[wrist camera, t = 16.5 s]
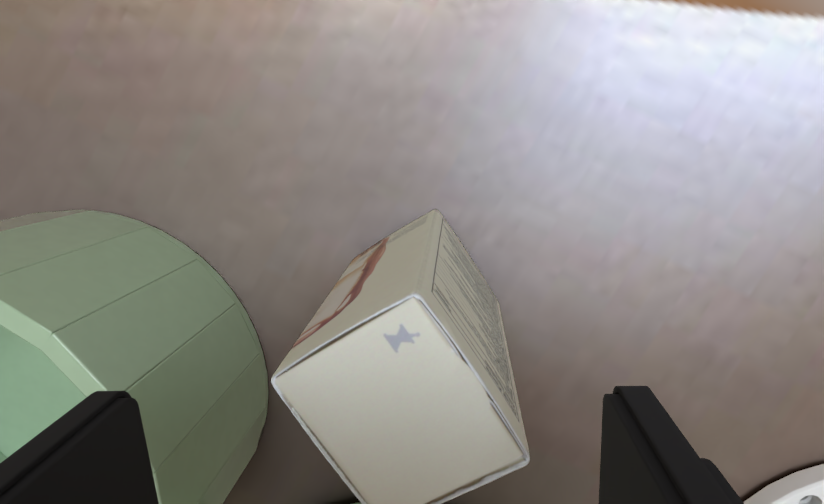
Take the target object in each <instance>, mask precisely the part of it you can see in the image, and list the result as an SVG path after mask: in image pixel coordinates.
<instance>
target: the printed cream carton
mask: <svg viewBox="0 0 824 504" xmlns="http://www.w3.org/2000/svg"><path fill="white" fill-rule="evenodd" d="M271 383H272V385H273V387H274V389H275V390H276V392H277V393H278V394H279V396H280V397H281V399H282V400H283V402H284V403H285V404H286V405H287V406H288V408H289V409H290V411H291V412H292V414H293V415H294V417H295V418H296V419H297V421H298V422H299V423H300V425H301V426H302V428H303V429H304V430H305V432H306V433H307V434H308V436H309V437H310V438H311V440H312V441H313V443H314V444H315V445H316V446H317V448H318V449H319V450H320V452H321V453H322V454H323V455H324V457H325V458H326V460H327V461H328V462H329V463H330V464H331V466H332V467H333V468H334V470H335V471H336V472H337V473H338V475H339V476H340V478H341V479H342V480H343V481H344V483H345V484H346V485H347V486H348V487H349V489H350V490H351V491H352V492H353V494H354V495H355V496H356V498H358V499H359V501H360V502H361V503H362V504H442V503H444V502H446V501H449V500H451V499H454V498H456V497H458V496H460V495H462V494H465V493H467V492H469V491H471V490H474V489H477V488H479V487H480V486H482V485H485V484H487V483H489V482H492V481H494V480H496V479H498V478H500V477H502V476H504V475H506V474H509V473H511V472H513V471H515V470H517V469H520V468H522V467H524V466H526V465H527V464H528V463H529V462H530V453H529V449H528V444H527V439H526V435H525V430H524V425H523V421H522V416H521V411H520V406H519V401H518V396H517V391H516V386H515V381H514V376H513V371H512V367H511V362H510V357H509V352H508V347H507V342H506V336H505V332H504V327H503V322H502V316H501V311H500V306H499V303H498V301H497V299H496V297H495V296H494V294H493V293H492V291H491V289H490V288H489V286H488V284H487V283H486V281H485V279H484V278H483V276H482V275H481V273H480V271H479V270H478V268H477V267H476V265H475V264H474V262H473V261H472V259H471V258H470V256H469V254H468V253H467V251H466V250H465V248H464V247H463V245H462V244H461V242H460V241H459V239H458V238H457V236H456V235H455V233H454V232H453V230H452V229H451V227H450V226H449V225H448V223H447V222H446V220H445V219H444V217H443V216H442V215H441V213H440V212H439V211H438V210H437V209H434V210H432V211H430V212H429V213H427V214H425V215H423V216H422V217H420V218H418V219H416V220H414V221H413V222H411V223H409V224H408V225H406V226H404V227H402V228H401V229H399V230H397V231H396V232H394V233H392V234H391V235H389V236H388V237H386V238H384V239H383V240H381V241H379V242H378V243H376V244H375V245H373V246H372V247H370V248H369V249H367V250H366V251H364V252H363V253H361V254H360V255H358V256H357V257H355V258H354V259H353V260H352V262H351V263H350V264H349V266H348V267H347V269H346V270H345V272H344V273H343V275H342V276H341V277H340V279H339V280H338V282H337V283H336V285H335V286H334V288H333V289H332V291H331V292H330V293H329V295H328V296H327V298H326V299H325V301H324V302H323V303H322V305H321V306H320V308H319V309H318V311H317V312H316V313H315V315H314V316H313V318H312V319H311V321H310V322H309V324H308V325H307V326H306V328H305V329H304V331H303V332H302V334H301V335H300V337H299V338H298V340H297V341H296V343H295V344H294V345H293V347H292V348H291V350H290V351H289V353H288V354H287V355H286V357H285V358H284V360H283V361H282V363H281V364H280V366H279V367H278V369H277V370H276V372H275V373H274V374H273V376H272V378H271Z"/></svg>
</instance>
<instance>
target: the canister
mask: <svg viewBox="0 0 824 504" xmlns="http://www.w3.org/2000/svg"><path fill="white" fill-rule="evenodd" d="M96 391H126V392H128V393H129V394H130V396H131V398H134V399H136V401H137V402H138V405H139V409H140V414H141V419H142V424H143V429H144V434H145V439H146V444H147V448H148V453H149V458H150V463H151V468H152V473H153V478H154V483H155V488H156V493H157V498H158V502H159V504H223V503H224V501H225V499H226V498H227V496H228V495H229V493H230V491H231V490H232V488H233V487H234V485H235V484H236V482H237V480H238V479H239V477H240V476H241V474H242V472H243V471H244V469H245V468H246V466H247V464H248V463H249V461H250V460H251V458H252V457H253V455H254V453H255V451H256V449H257V445H258V442H259V440H260V437H261V435H262V432H263V428H264V424H265V420H266V415H267V406H268V377H267V370H266V365H265V360H264V354H263V351H262V348H261V345H260V342H259V339H258V336H257V333H256V331H255V329H254V326H253V324H252V322H251V320H250V318H249V316H248V314H247V312H246V310H245V309H244V307H243V306H242V304H241V303H240V301H239V299H238V298H237V296H236V295H235V293H234V292H233V291H232V289H231V288H230V287H229V286H228V284H227V283H226V282H225V281H224V280H223V278H222V277H221V276H220V275H219V274H218V273H217V272H216V271H215V270H214V269H213V268H212V267H211V266H210V265H209V264H208V263H207V262H206V261H205V260H204V259H203V258H202V257H200V256H199V255H198V254H197V253H195V252H194V251H193V250H191V249H190V248H189V247H187V246H186V245H185V244H183V243H182V242H180V241H179V240H177V239H175V238H174V237H172V236H170V235H168V234H167V233H165V232H163V231H162V230H159V229H157V228H155V227H153V226H150V225H148V224H146V223H144V222H141V221H139V220H135V219H132V218H129V217H125V216H122V215H119V214H114V213H108V212H102V211H96V210H64V211H55V212H38V213H33V214H29V215H24V216H19V217H14V218H10V219H5V220H0V463H1V462H2V461H4V460H5V459H6V458H8V457H9V456H10V455H12V454H13V453H14V452H16V451H17V450H18V449H20V448H21V447H22V446H23V445H25V444H26V443H27V442H29V441H30V440H31V439H33V438H34V437H35V436H37V435H38V434H39V433H41V432H42V431H43V430H44V429H46V428H47V427H48V426H50V425H51V424H52V423H54V422H55V421H56V420H58V419H59V418H60V417H62V416H63V415H64V414H65V413H67V412H68V411H69V410H71V409H72V408H73V407H75V406H76V405H77V404H79V403H80V402H81V401H82V400H84V399H85V398H86V397H88V396H89V395H90V394H92V393H94V392H96Z"/></svg>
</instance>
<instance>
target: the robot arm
mask: <svg viewBox="0 0 824 504" xmlns="http://www.w3.org/2000/svg"><path fill="white" fill-rule="evenodd" d="M0 504H159V502H158V498H157V493H156V488H155V483H154V478H153V473H152V468H151V463H150V458H149V453H148V448H147V444H146V439H145V434H144V429H143V424H142V419H141V414H140V409H139V405H138V402H137V401H136V399H134V398H131V396H130V394H129V393H128V392H126V391H96V392H94V393H92V394H90V395H89V396H88V397H86V398H85V399H84V400H82V401H81V402H80V403H79V404H77V405H76V406H75V407H73V408H72V409H71V410H69V411H68V412H67V413H65V414H64V415H63V416H62V417H60V418H59V419H58V420H56V421H55V422H54V423H52V424H51V425H50V426H48V427H47V428H46V429H44V430H43V431H42V432H41V433H39V434H38V435H37V436H35V437H34V438H33V439H31V440H30V441H29V442H27V443H26V444H25V445H23V446H22V447H21V448H20V449H18V450H17V451H16V452H14V453H13V454H12V455H10V456H9V457H8V458H6V459H5V460H4V461H2V462H1V463H0ZM599 504H824V464H821V465H817V466H814V467H811V468H807V469H804V470H801V471H797V472H794V473H792V474H790V475H788V476H786V477H784V478H782V479H780V480H778V481H775V482H773V483H771V484H769V485H767V486H766V487H764V488H763V489H761V490H760V491H759V492H757V493H756V494H754V495H753V496H751V497H750V498H748V499H747V500H745V501H744V502H742V500H741V499H740V498H739V496H738V495H737V494H736V492H735V491H734V490H733V488H732V487H731V486H730V484H729V483H728V482H727V480H726V479H725V478H724V476H723V475H722V474H721V472H720V471H719V470H718V468H717V467H716V466H715V465H714V464H713V463H712V462H711V461H710V460H708V459H705V458H699V456H698V455H697V454H696V452H695V451H694V449H693V448H692V447H691V445H690V444H689V442H688V441H687V440H686V438H685V437H684V436H683V434H682V433H681V431H680V430H679V429H678V427H677V426H676V424H675V423H674V422H673V420H672V419H671V417H670V416H669V415H668V413H667V412H666V411H665V409H664V408H663V406H662V405H661V404H660V402H659V401H658V399H657V398H656V397H655V395H654V394H653V392H652V391H651V390H650V388H649V387H647V386H616V387H615V388H614V391H613V394H605V395H604V398H603V416H602V440H601V464H600V489H599Z"/></svg>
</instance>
